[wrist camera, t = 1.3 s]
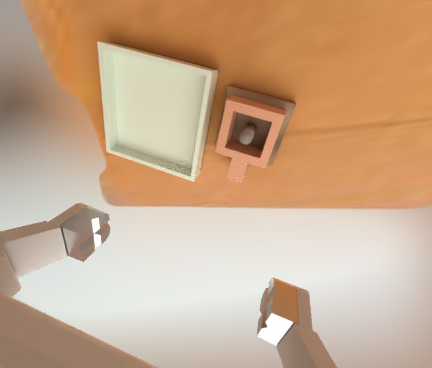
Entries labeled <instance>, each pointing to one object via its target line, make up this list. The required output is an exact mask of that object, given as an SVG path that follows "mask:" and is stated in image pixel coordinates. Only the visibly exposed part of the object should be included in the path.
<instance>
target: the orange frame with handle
mask: <svg viewBox="0 0 432 368" xmlns="http://www.w3.org/2000/svg"><path fill="white" fill-rule="evenodd" d="M237 112H238V113H242V114H245V115H249V116H252V117H256V118H259V119H263V120H266V121H270V122H272V124H271V127H270V130H269V133H268V136H267V139H266V142H265V145H264V148H263V150H262V149H259V148H256V147H253V146H249V145H245V144H242V143H239V142H236V141H233V140H231V136H232V132H233V128H234V123H235V119H236V115H237ZM285 113H286V110H285V109H281V108H278V107H274V106H270V105H267V104H263V103H259V102H256V101H252V100H248V99H245V98H241V97H237V96H234V95H233V96H231V97H230V98H228V99H227V100H226V105H225V110H224V114H223V119H222V124H221V128H220V133H219V138H218V142H217V147H216V152H215V153H218V154H221V155H224V156H228V157H231V158H232V161H231V164H230V168H229V172H228V176H227V179H230V180H233V181H236V182H239V183H242V181H243V178H244V176H245V173H246V170H247V167H248V164H249V163H250V164H253V165H256V166H259V167H262V168H266V166H267V163H268V161H269V158H270V155H271V153H272V150H273V147H274V144H275V142H276V139H277V136H278V134H279V131H280V128H281V126H282V123H283V120H284V118H285Z"/></svg>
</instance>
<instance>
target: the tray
mask: <svg viewBox="0 0 432 368" xmlns="http://www.w3.org/2000/svg"><path fill="white" fill-rule="evenodd" d="M97 45H98V56H99V68H100V79H101V91H102V103H103V114H104V126H105V137H106V149H107V152H109V153H111V154H114V155H117V156H120V157H123V158H126V159H129V160H132V161H135V162H138V163H141V164H144V165H147V166H150V167H153V168H156V169H158V170H161V171H164V172H167V173H170V174H173V175H176V176H179V177H182V178H185V179H188V180H191V181H195V179H196V178H197V177H198V176H199V174H200V171H201V166H202V160H203V155H204V150H205V144H206V139H207V133H208V128H209V122H210V117H211V111H212V106H213V100H214V95H215V90H216V84H217V79H218V73H219V70H216V69H212V68H208V67H204V66H200V65H197V64H193V63H189V62H185V61H181V60H177V59H173V58H170V57H166V56H162V55H158V54H154V53H150V52H146V51H142V50H139V49H135V48H131V47H127V46H123V45H119V44H115V43H110V42H97Z"/></svg>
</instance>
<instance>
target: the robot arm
mask: <svg viewBox="0 0 432 368" xmlns="http://www.w3.org/2000/svg"><path fill="white" fill-rule="evenodd" d="M108 221H109V215H108V214H106V213H104V212H102V211H99V210H97V209H95V208H92V207H90V206H87V205H85V204H82V203H78V204H75V205H74V206H72V207H71V208H69V209H68V210H66V211H65V212H63V213H62V214H60V215H58V216H57V217H55V218H54V219H52V220H51V221H49V222H47V221H44V222H39V223H35V224H31V225H27V226H22V227H18V228H14V229H10V230H6V231H1V232H0V368H157V367H155V366H153V365H151V364H149V363H146V362H145V361H142V360H141V359H138V358H136V357H134V356H132V355H130V354H128V353H126V352H124V351H122V350H120V349H118V348H116V347H114V346H112V345H109V344H107V343H105V342H103V341H101V340H99V339H97V338H95V337H93V336H91V335H89V334H87V333H85V332H83V331H81V330H79V329H76V328H74V327H72V326H70V325H68V324H66V323H64V322H62V321H60V320H58V319H56V318H53V317H52V316H49V315H47V314H45V313H43V312H41V311H39V310H37V309H35V308H33V307H31V306H29V305H27V304H24V303H22V302H20V301H19V300H16V299H14V298H12V297H13V296H14V295H15V294H16V293H17V292H18V291H20V288H21V286H20V284H19V281H18V279H17V278H19V277H22V276H24V275H26V274H29V273H31V272H33V271H35V270H38V269H40V268H42V267H45V266H47V265H49V264H51V263H53V262H56V261H58V260H60V259H63V258H65V257H67V255H68V256H70V257H73V258H75V259H78V260H80V261H83V262H84V261H85V260H86V259H87V258H88V257H89V256H90V255H91V254H92V253H93V252H94V250H95V247H96V246H99V245H102V243H103V242H104V241H105V240H106V239H107V237H108V236H109V233H110V226H109V224H108V223H107V222H108ZM260 311H261V313H262V316H261V317H260V319H259V321H258V331H257V337H259V338H262V339H264V340H266V341H268V342H270V343H272V344H274V345H277V350H278V353H279V355H280V358H281V361H282V364H283V367H284V368H337V367H336V365H335V363H334V362H333V360H332V359H331V357H330V355H329V353H328V352H327V350H326V348H325V346H324V345H323V343H322V341H321V340H320V338H319V336H318V334H317V333H316V332H314V331H313V330H312V319H311V308H310V298H309V292H308V291H307V290H304V289H301V288H299V287H296V286H294V285H291V284H289V283H286V282H283V281H281V280H278V279H275V278H272V279H271V281H270V282H269V288H266V289H265V291H264V293H263V296H262V300H261V305H260Z"/></svg>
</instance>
